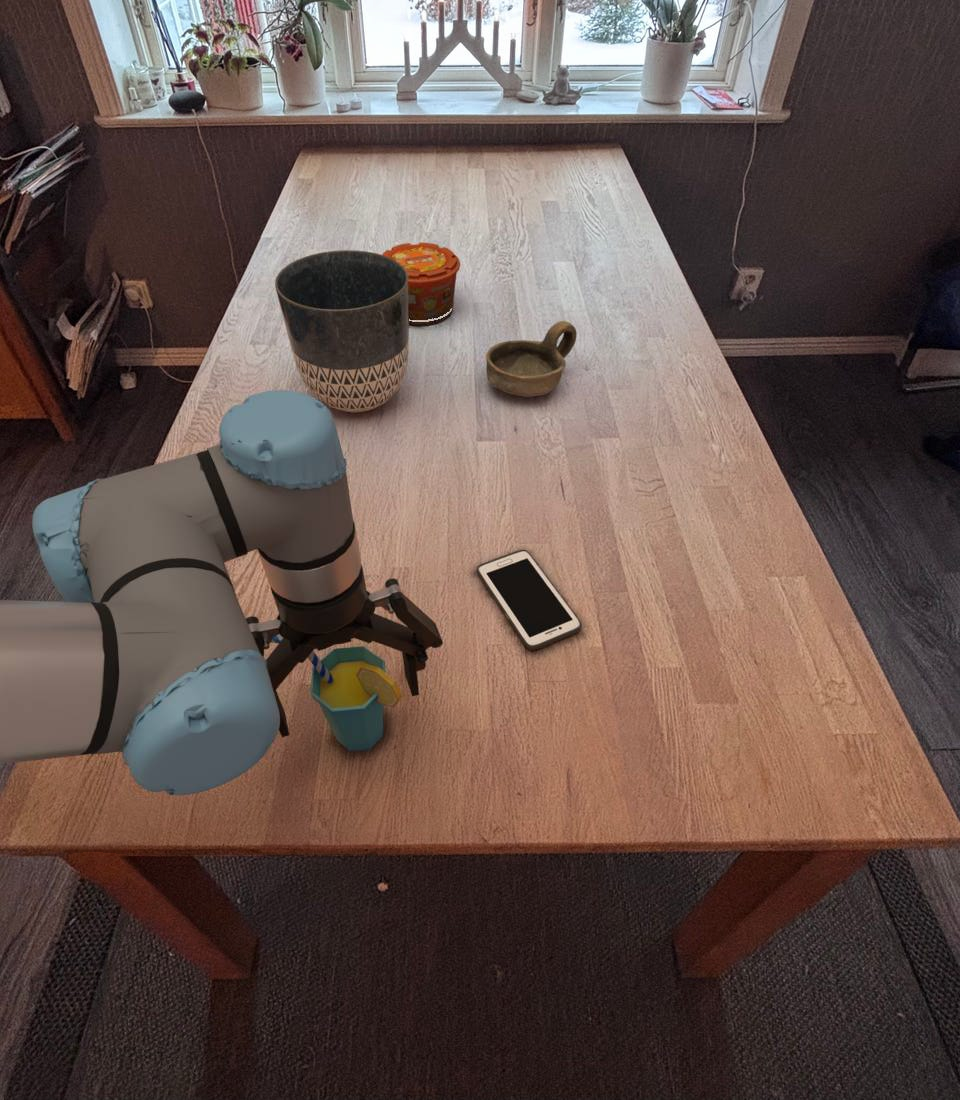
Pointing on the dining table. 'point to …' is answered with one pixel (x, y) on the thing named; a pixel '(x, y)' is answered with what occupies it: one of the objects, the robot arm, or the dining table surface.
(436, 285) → the food container
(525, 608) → the cell phone
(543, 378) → the bowl
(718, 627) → the dining table surface
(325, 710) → the cup
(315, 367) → the planter
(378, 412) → the dining table surface
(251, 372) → the dining table surface
